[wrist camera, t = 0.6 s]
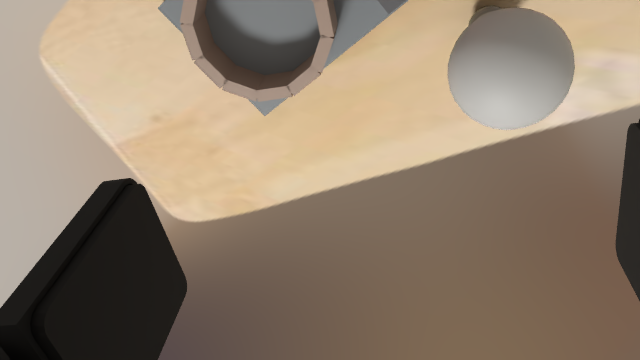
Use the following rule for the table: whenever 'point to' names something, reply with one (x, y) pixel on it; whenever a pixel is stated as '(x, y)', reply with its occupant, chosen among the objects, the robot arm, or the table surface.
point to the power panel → (271, 40)
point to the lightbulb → (510, 67)
